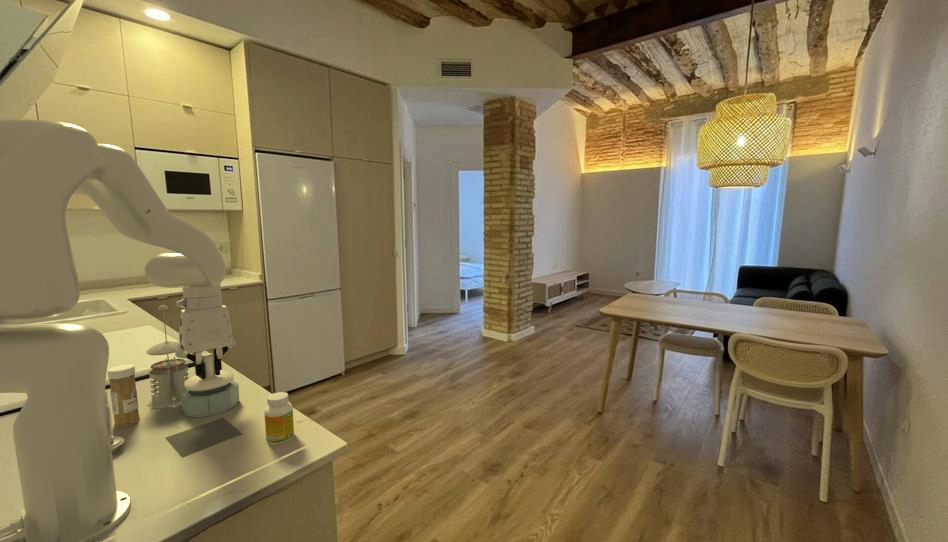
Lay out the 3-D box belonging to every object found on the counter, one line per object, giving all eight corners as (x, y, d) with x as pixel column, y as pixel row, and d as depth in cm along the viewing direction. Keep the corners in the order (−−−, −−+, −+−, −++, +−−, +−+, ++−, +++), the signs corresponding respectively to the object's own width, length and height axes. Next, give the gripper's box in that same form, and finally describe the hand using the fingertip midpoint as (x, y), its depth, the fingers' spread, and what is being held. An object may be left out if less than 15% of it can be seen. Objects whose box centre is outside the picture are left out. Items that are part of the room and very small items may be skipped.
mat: (182, 459, 77) (182, 457, 76) (165, 439, 83) (165, 437, 83) (243, 435, 85) (242, 433, 85) (223, 419, 92) (223, 417, 92)
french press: (191, 387, 108) (183, 299, 105) (200, 401, 100) (192, 306, 97) (145, 399, 101) (135, 304, 98) (150, 415, 93) (140, 312, 90)
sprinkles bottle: (138, 425, 89) (132, 368, 87) (111, 431, 86) (104, 372, 84) (141, 416, 93) (135, 362, 91) (116, 421, 90) (109, 366, 88)
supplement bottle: (290, 444, 82) (287, 400, 81) (262, 447, 81) (259, 402, 80) (296, 431, 87) (294, 389, 86) (270, 433, 86) (268, 391, 85)
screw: (128, 444, 81) (121, 456, 77) (97, 450, 79) (88, 463, 75) (121, 384, 80) (113, 394, 75) (90, 389, 77) (80, 399, 73)
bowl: (193, 423, 90) (191, 402, 89) (178, 408, 96) (176, 389, 96) (245, 405, 98) (243, 387, 98) (227, 393, 105) (226, 375, 104)
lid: (192, 394, 90) (190, 365, 89) (178, 383, 96) (176, 355, 95) (240, 381, 97) (238, 354, 96) (224, 371, 103) (222, 345, 103)
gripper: (166, 310, 85) (174, 391, 88) (246, 299, 98) (250, 370, 100) (156, 305, 90) (164, 382, 92) (233, 295, 102) (238, 363, 105)
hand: (209, 375), depth 96 cm, fingers closed on lid, 2 cm apart
